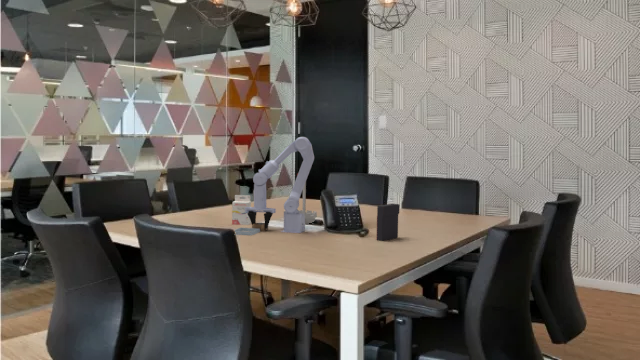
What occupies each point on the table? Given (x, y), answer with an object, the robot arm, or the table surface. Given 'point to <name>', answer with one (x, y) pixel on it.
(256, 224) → the brown wooden frame
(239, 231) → the tray
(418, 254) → the table surface
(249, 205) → the ink cartridge box
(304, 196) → the flag stand
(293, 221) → the robot arm
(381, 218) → the upright black prism
